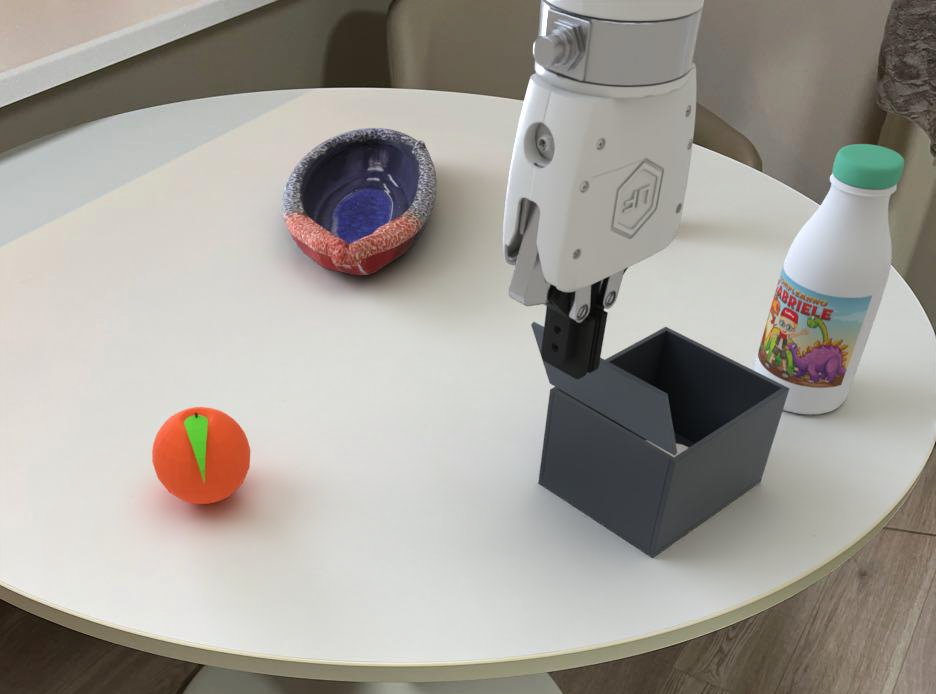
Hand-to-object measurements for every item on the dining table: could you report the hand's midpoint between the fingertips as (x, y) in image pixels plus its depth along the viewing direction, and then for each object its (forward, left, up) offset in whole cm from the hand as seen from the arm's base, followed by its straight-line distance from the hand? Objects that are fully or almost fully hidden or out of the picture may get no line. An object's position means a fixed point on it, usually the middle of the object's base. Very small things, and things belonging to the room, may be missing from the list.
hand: (568, 364), depth 63 cm
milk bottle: (0, -31, -15) cm, 34 cm away
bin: (0, -12, -15) cm, 19 cm away
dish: (+47, -23, -15) cm, 54 cm away
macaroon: (0, -13, -15) cm, 20 cm away
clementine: (+20, +14, -15) cm, 29 cm away
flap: (0, -4, -3) cm, 5 cm away
